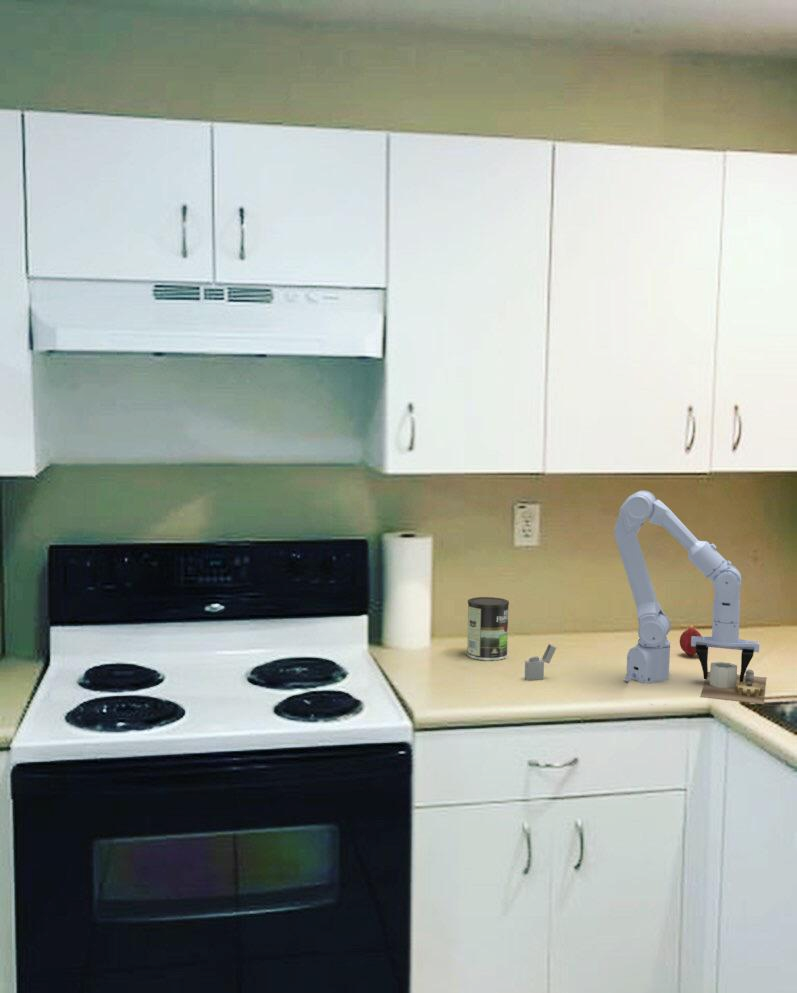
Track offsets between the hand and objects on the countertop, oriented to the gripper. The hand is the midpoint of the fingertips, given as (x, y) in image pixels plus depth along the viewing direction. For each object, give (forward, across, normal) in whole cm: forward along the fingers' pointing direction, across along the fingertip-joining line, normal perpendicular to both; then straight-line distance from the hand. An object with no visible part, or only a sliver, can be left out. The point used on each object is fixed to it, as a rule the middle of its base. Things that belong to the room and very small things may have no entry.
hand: (723, 680), depth 230 cm
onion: (+2, +10, -28) cm, 30 cm away
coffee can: (+2, +57, -8) cm, 58 cm away
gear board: (+2, -2, +1) cm, 3 cm away
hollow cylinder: (+1, 0, 0) cm, 1 cm away
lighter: (+2, +40, +8) cm, 41 cm away
